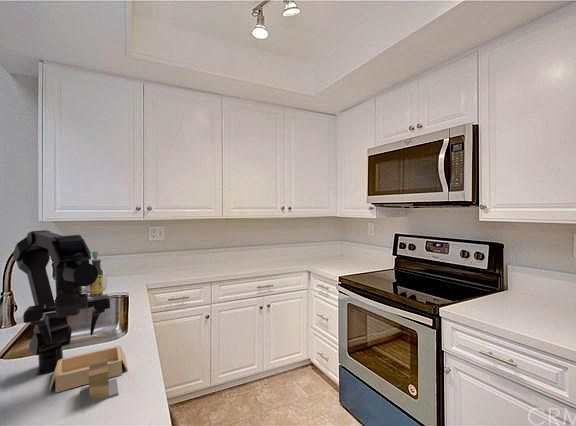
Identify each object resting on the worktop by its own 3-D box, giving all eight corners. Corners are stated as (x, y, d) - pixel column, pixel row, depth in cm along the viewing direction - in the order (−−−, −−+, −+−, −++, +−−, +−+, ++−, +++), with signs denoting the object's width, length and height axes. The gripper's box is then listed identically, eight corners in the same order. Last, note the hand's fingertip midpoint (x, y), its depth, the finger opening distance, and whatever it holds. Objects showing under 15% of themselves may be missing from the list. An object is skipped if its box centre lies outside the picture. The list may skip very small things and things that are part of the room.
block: (90, 386, 81) (89, 363, 81) (108, 381, 83) (107, 358, 83) (89, 400, 75) (88, 376, 75) (109, 395, 77) (108, 371, 77)
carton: (54, 372, 90) (53, 359, 90) (124, 355, 100) (123, 342, 100) (48, 397, 78) (47, 381, 78) (128, 375, 88) (127, 360, 88)
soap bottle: (107, 287, 189) (106, 249, 189) (104, 291, 180) (102, 252, 179) (89, 289, 186) (88, 251, 186) (84, 293, 177) (83, 253, 176)
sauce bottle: (88, 298, 167) (87, 261, 167) (90, 295, 173) (89, 259, 172) (102, 296, 170) (101, 259, 169) (104, 293, 175) (103, 258, 175)
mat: (81, 392, 80) (81, 388, 80) (116, 381, 85) (116, 378, 84) (80, 408, 74) (79, 404, 73) (118, 396, 78) (118, 392, 78)
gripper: (17, 294, 72) (20, 361, 73) (109, 282, 82) (112, 340, 83) (26, 285, 82) (29, 343, 82) (108, 274, 92) (110, 327, 92)
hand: (71, 339), depth 84 cm, fingers open, 9 cm apart
